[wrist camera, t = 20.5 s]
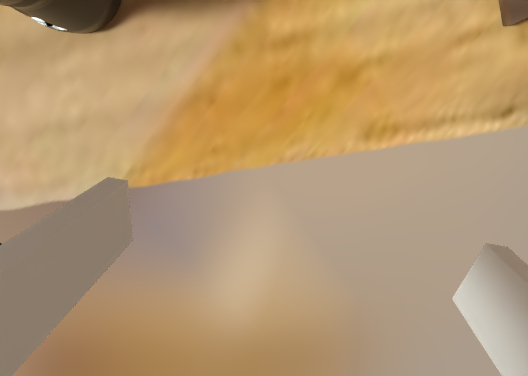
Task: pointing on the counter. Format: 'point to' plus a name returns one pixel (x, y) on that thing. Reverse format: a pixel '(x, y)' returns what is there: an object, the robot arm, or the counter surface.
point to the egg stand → (513, 11)
